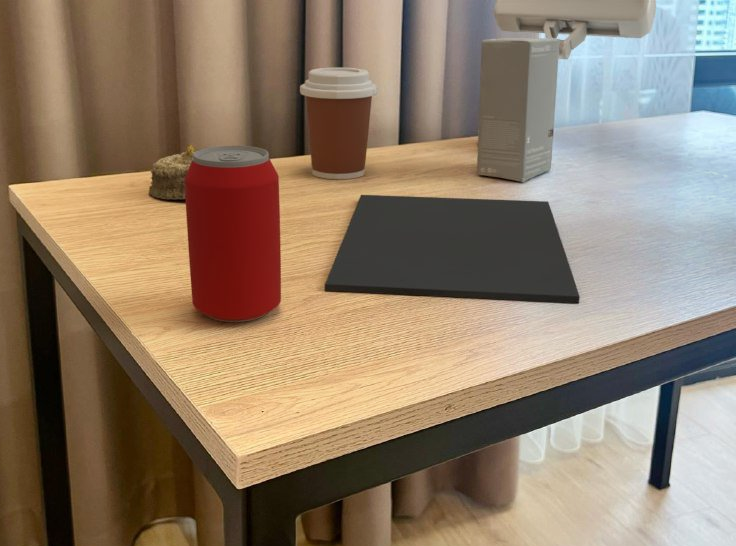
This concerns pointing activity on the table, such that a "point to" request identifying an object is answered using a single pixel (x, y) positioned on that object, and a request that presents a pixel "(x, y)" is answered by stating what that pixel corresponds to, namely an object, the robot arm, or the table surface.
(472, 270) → the mat
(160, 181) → the cake
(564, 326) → the table surface
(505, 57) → the cosmetic box
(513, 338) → the table surface
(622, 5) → the robot arm
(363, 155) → the coffee cup
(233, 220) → the beverage can
